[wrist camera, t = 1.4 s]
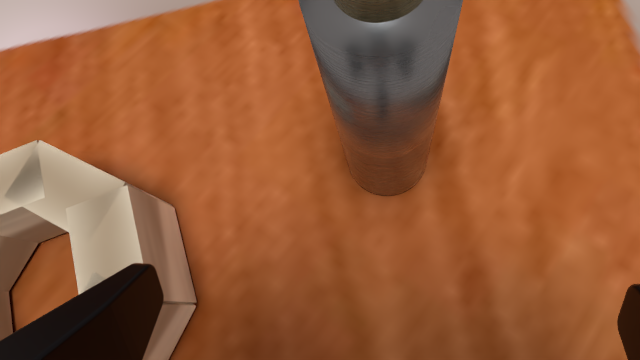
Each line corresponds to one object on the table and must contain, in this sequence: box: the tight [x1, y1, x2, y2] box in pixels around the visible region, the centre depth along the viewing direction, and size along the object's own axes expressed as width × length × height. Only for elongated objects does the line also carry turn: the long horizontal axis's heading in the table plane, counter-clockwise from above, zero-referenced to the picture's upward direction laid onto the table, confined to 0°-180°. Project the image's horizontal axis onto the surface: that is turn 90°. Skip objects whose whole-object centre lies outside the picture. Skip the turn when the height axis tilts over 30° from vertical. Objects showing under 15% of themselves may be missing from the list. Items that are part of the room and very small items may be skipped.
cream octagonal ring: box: [0, 140, 197, 360], centre depth 21 cm, size 13×13×4 cm
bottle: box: [299, 0, 463, 195], centre depth 16 cm, size 4×4×15 cm
